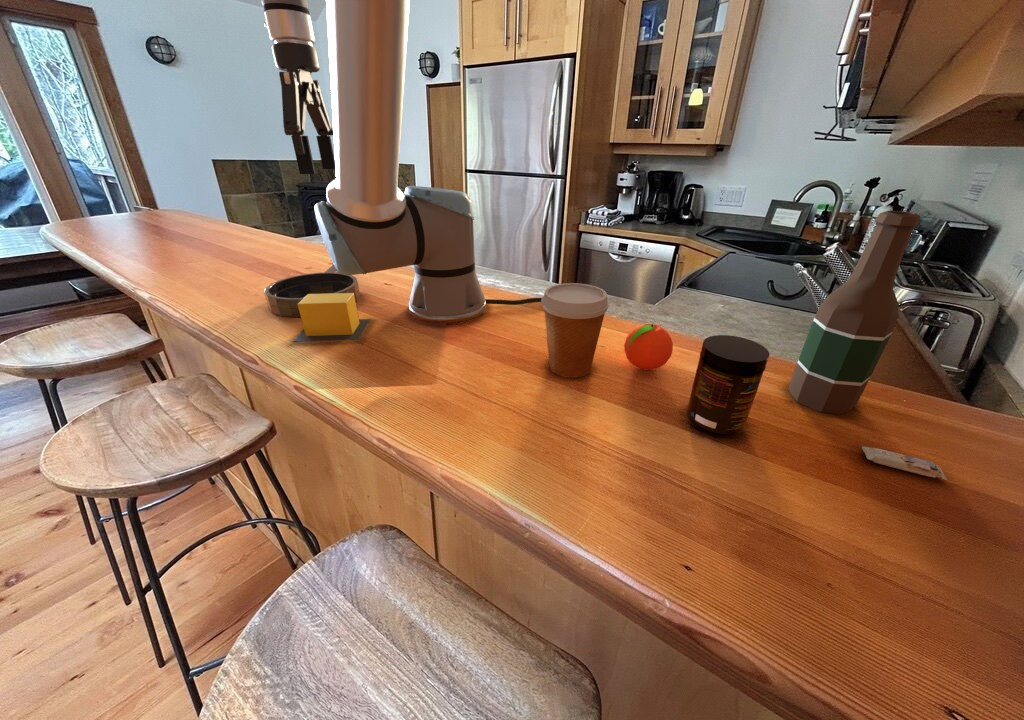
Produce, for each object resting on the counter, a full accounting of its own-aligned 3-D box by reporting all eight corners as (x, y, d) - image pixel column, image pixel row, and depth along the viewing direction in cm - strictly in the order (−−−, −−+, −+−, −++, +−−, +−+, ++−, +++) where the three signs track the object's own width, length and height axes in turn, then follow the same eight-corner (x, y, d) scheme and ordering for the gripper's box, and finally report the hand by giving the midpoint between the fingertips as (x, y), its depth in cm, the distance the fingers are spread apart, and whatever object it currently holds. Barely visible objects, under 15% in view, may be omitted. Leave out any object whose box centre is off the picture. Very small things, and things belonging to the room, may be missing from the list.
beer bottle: (858, 423, 51) (959, 221, 39) (785, 404, 54) (859, 214, 43) (852, 393, 57) (940, 210, 45) (787, 378, 60) (852, 205, 49)
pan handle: (347, 269, 104) (346, 262, 103) (334, 282, 94) (332, 275, 93) (336, 269, 103) (335, 262, 103) (322, 283, 94) (320, 275, 93)
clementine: (641, 385, 58) (649, 340, 55) (606, 365, 64) (612, 323, 60) (678, 370, 62) (687, 327, 59) (643, 352, 67) (650, 312, 64)
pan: (368, 289, 95) (365, 271, 93) (348, 318, 80) (343, 298, 78) (290, 291, 94) (285, 273, 92) (254, 321, 79) (247, 300, 77)
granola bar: (863, 462, 44) (867, 455, 44) (859, 449, 46) (863, 442, 46) (945, 483, 42) (950, 476, 41) (937, 469, 44) (942, 461, 43)
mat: (370, 321, 79) (370, 319, 78) (359, 342, 71) (358, 339, 71) (311, 323, 78) (311, 320, 78) (293, 344, 70) (292, 341, 70)
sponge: (359, 323, 77) (353, 292, 74) (352, 334, 72) (346, 302, 69) (315, 324, 76) (307, 293, 73) (305, 336, 72) (297, 303, 69)
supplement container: (750, 420, 51) (776, 346, 46) (735, 448, 47) (761, 368, 42) (695, 401, 55) (713, 330, 50) (676, 424, 51) (694, 349, 46)
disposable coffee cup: (582, 391, 57) (590, 310, 51) (526, 370, 62) (528, 294, 56) (612, 364, 64) (622, 290, 58) (559, 347, 69) (563, 278, 63)
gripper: (298, 56, 86) (320, 167, 96) (237, 28, 64) (275, 176, 75) (335, 56, 87) (353, 167, 97) (287, 29, 65) (317, 176, 75)
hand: (319, 171), depth 86 cm, fingers open, 13 cm apart
